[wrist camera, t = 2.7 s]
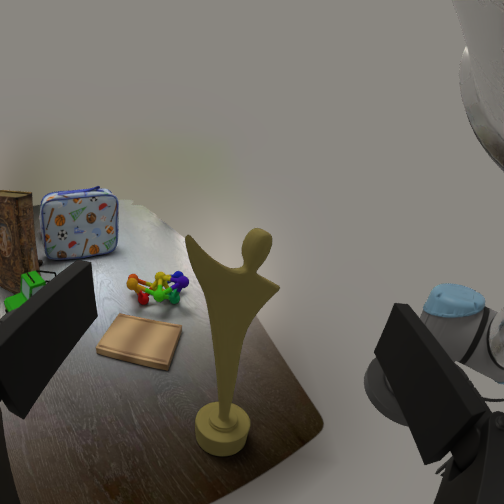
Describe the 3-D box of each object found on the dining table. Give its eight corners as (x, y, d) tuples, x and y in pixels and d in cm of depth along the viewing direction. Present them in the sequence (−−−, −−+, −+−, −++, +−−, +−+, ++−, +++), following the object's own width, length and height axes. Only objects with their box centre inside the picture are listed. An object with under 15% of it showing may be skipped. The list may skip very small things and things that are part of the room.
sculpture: (235, 406, 39) (267, 214, 29) (265, 436, 34) (323, 237, 24) (172, 433, 33) (165, 221, 22) (200, 471, 28) (212, 253, 17)
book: (46, 291, 57) (35, 192, 48) (33, 301, 52) (18, 197, 43) (11, 278, 57) (-1, 189, 48) (-2, 286, 52) (-15, 194, 43)
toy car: (7, 319, 43) (-4, 279, 40) (64, 295, 58) (59, 257, 54) (18, 338, 40) (4, 295, 36) (80, 310, 54) (74, 270, 51)
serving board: (181, 330, 56) (182, 324, 55) (168, 370, 44) (167, 364, 44) (119, 318, 55) (119, 312, 54) (96, 353, 44) (95, 347, 43)
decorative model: (130, 271, 67) (187, 259, 70) (139, 303, 69) (194, 292, 71) (117, 282, 55) (185, 269, 57) (128, 321, 56) (194, 309, 58)
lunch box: (115, 243, 92) (116, 181, 85) (124, 253, 86) (125, 186, 78) (43, 254, 74) (38, 187, 67) (44, 266, 67) (38, 193, 60)
